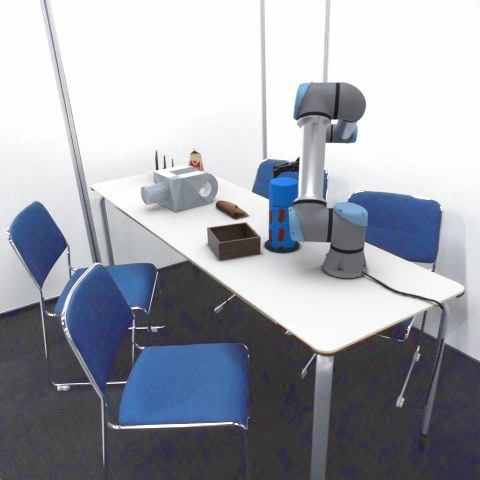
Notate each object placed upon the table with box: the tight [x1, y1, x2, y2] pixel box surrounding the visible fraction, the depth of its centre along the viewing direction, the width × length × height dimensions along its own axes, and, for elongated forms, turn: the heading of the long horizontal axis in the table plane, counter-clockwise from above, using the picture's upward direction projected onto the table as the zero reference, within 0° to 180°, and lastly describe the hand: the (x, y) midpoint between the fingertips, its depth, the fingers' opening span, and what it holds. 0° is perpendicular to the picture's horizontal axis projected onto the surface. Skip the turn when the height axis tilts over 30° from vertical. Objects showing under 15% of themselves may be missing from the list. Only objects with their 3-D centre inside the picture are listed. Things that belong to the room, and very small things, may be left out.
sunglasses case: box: [215, 200, 249, 220], centre depth 220 cm, size 18×7×7 cm
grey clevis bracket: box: [140, 164, 219, 213], centre depth 228 cm, size 35×19×15 cm, turn 126°
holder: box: [206, 221, 262, 261], centre depth 184 cm, size 17×17×7 cm
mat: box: [263, 239, 301, 254], centre depth 187 cm, size 14×14×1 cm
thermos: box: [268, 176, 299, 250], centre depth 180 cm, size 11×11×25 cm
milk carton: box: [188, 147, 206, 188], centre depth 252 cm, size 9×9×20 cm
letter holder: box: [154, 149, 175, 171], centre depth 267 cm, size 10×20×14 cm, turn 7°
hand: (291, 176), depth 181 cm, fingers open, 13 cm apart
